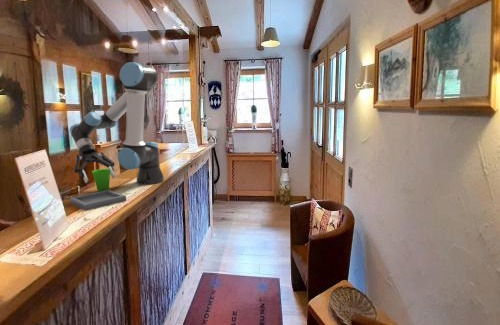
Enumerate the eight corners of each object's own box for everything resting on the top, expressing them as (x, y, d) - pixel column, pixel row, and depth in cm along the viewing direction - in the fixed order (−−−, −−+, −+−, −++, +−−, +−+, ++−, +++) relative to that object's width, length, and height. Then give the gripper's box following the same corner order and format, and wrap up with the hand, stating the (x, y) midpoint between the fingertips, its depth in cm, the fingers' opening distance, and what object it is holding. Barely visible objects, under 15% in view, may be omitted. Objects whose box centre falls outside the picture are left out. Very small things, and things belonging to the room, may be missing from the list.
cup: (105, 193, 162) (103, 172, 160) (90, 193, 164) (87, 172, 162) (116, 189, 170) (114, 169, 169) (101, 189, 172) (99, 168, 170)
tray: (109, 194, 160) (108, 189, 160) (126, 200, 148) (125, 195, 148) (70, 203, 147) (69, 197, 147) (85, 210, 135) (84, 205, 135)
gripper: (107, 150, 185) (122, 179, 177) (59, 155, 167) (73, 188, 159) (110, 141, 180) (125, 170, 173) (61, 146, 162) (76, 179, 155)
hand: (100, 179), depth 166 cm, fingers open, 13 cm apart
